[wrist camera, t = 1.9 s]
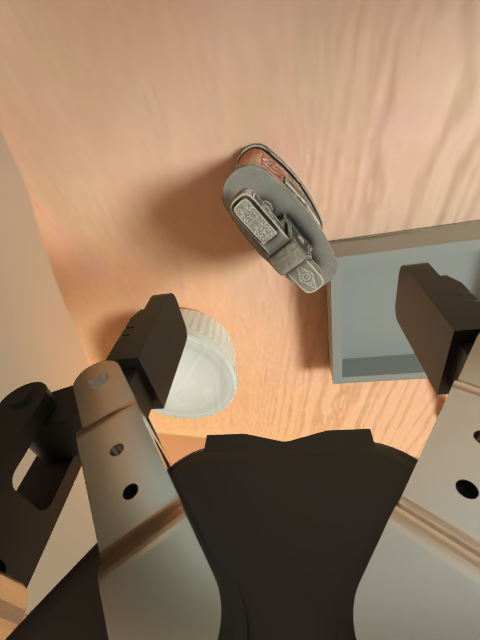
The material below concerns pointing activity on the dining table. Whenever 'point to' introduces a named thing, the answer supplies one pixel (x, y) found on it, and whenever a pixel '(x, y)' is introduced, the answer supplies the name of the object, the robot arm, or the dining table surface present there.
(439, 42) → the dining table surface
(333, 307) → the tray
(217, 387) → the ramekin
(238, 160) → the lighter
